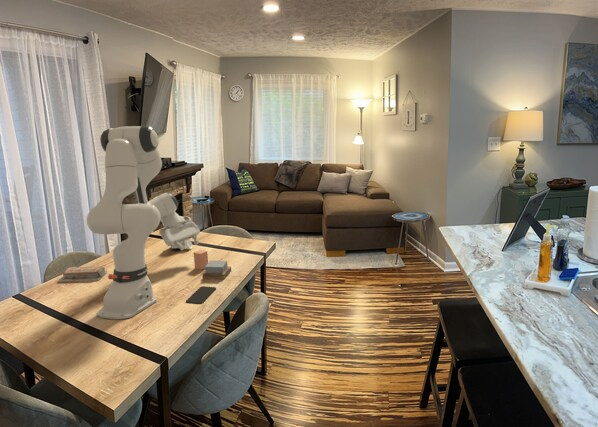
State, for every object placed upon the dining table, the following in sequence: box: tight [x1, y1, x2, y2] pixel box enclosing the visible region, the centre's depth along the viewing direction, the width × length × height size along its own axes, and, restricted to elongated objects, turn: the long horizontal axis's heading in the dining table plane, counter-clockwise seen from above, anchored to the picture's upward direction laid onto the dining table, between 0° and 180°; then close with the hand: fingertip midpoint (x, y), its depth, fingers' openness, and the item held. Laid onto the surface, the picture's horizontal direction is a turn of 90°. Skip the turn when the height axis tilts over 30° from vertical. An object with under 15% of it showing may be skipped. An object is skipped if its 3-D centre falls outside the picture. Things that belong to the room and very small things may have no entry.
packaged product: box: [57, 266, 108, 283], centre depth 184 cm, size 18×5×10 cm
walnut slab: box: [201, 265, 232, 281], centre depth 184 cm, size 10×10×3 cm
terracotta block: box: [193, 249, 209, 271], centre depth 193 cm, size 4×4×8 cm
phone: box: [185, 285, 217, 305], centre depth 164 cm, size 7×1×15 cm
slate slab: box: [204, 260, 229, 273], centre depth 184 cm, size 8×8×3 cm
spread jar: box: [170, 238, 193, 252], centre depth 222 cm, size 12×11×12 cm
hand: (190, 246), depth 195 cm, fingers open, 8 cm apart
